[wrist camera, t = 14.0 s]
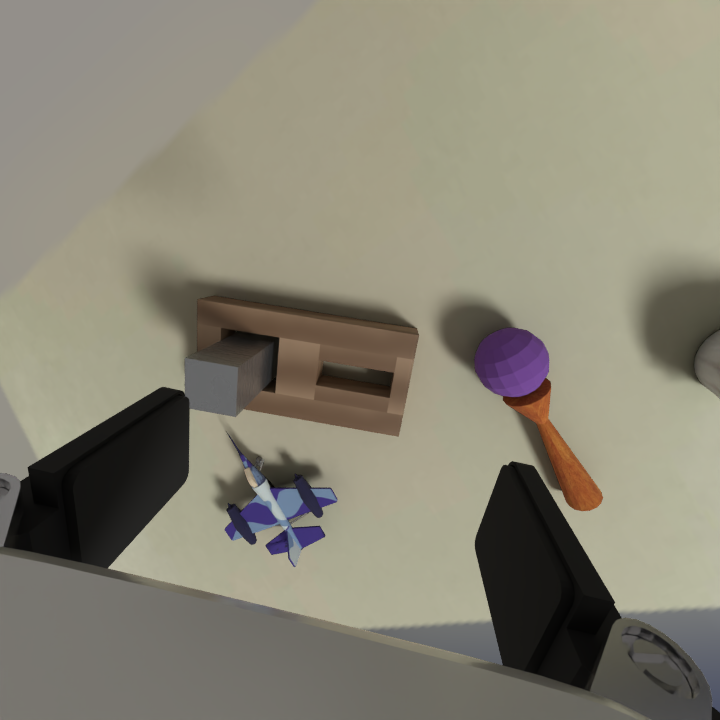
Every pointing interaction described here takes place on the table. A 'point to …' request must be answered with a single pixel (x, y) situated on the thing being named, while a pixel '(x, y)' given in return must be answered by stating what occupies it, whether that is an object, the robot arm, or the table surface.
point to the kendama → (533, 403)
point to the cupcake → (709, 363)
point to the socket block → (320, 362)
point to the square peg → (231, 372)
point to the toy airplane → (278, 512)
